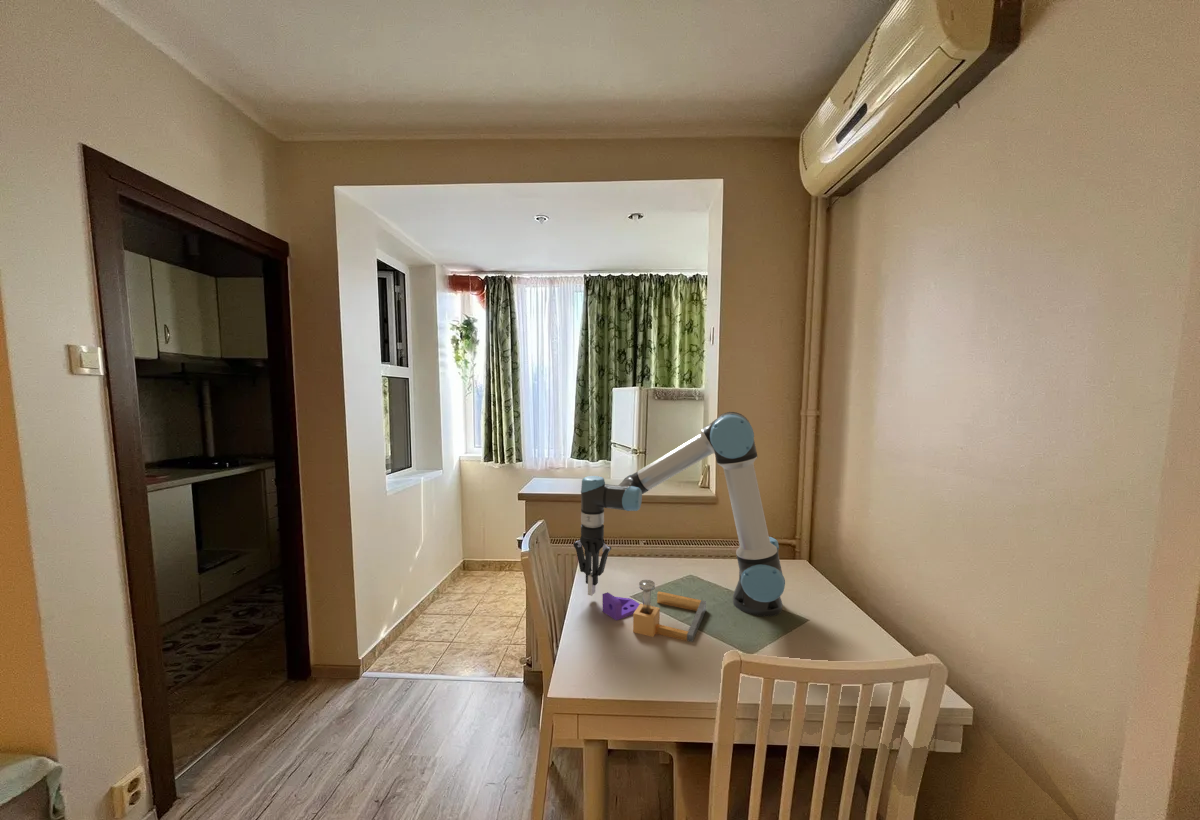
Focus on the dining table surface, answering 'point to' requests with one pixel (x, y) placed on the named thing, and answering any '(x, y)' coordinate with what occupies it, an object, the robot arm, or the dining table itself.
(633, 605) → the bracket
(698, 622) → the u-shaped frame
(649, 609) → the round-headed metal pin
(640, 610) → the sleeve
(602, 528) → the robot arm
